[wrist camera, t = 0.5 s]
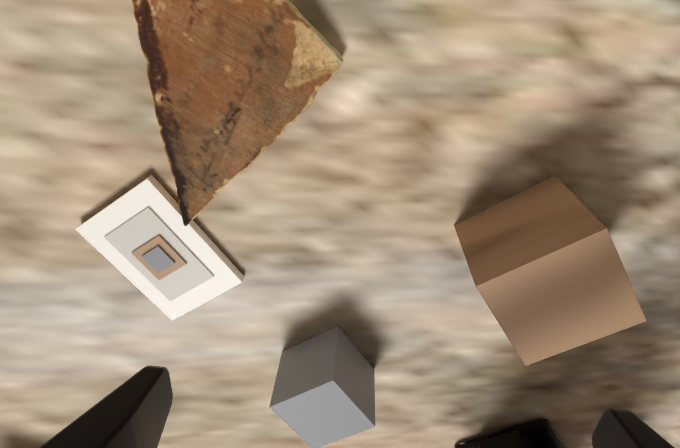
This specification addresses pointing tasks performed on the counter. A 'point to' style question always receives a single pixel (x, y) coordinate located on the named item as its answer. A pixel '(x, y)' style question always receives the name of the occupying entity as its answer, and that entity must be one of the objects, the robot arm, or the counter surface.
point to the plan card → (160, 249)
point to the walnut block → (548, 271)
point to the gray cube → (325, 389)
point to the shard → (227, 83)
